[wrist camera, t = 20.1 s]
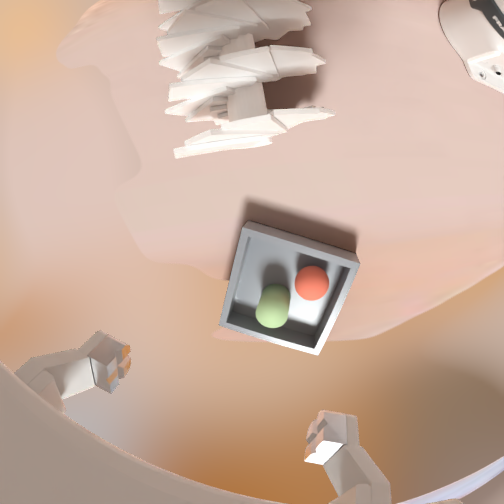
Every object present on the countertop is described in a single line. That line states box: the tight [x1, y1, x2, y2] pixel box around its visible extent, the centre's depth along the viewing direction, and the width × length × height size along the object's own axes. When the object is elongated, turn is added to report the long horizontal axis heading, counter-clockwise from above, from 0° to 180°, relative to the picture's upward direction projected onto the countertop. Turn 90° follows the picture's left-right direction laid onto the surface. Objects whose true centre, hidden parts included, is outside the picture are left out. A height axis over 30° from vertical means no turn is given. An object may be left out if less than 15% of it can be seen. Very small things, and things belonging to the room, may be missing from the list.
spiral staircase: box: [156, 0, 336, 159], centre depth 24 cm, size 18×18×25 cm
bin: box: [219, 220, 360, 355], centre depth 40 cm, size 16×16×4 cm
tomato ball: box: [295, 266, 329, 301], centre depth 38 cm, size 5×5×5 cm
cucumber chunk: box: [256, 284, 291, 328], centre depth 40 cm, size 4×4×5 cm
